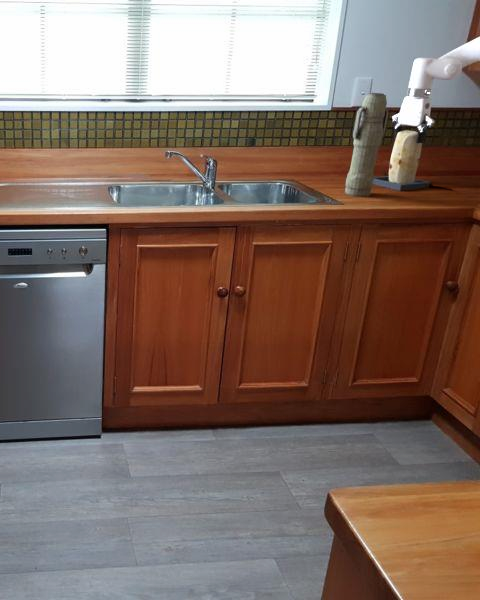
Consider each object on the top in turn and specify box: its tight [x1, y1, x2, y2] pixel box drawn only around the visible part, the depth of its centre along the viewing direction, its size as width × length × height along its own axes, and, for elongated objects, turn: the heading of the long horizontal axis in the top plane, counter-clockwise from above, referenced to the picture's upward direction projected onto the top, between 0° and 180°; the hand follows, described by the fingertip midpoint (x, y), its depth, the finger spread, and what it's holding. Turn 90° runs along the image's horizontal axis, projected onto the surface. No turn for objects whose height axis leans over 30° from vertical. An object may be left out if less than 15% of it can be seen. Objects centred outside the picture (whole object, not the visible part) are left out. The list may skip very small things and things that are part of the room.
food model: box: [388, 129, 423, 185], centre depth 233 cm, size 10×7×20 cm
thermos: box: [344, 92, 390, 198], centre depth 216 cm, size 9×12×35 cm
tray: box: [372, 175, 431, 192], centre depth 237 cm, size 15×16×2 cm
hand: (408, 141), depth 230 cm, fingers open, 9 cm apart
